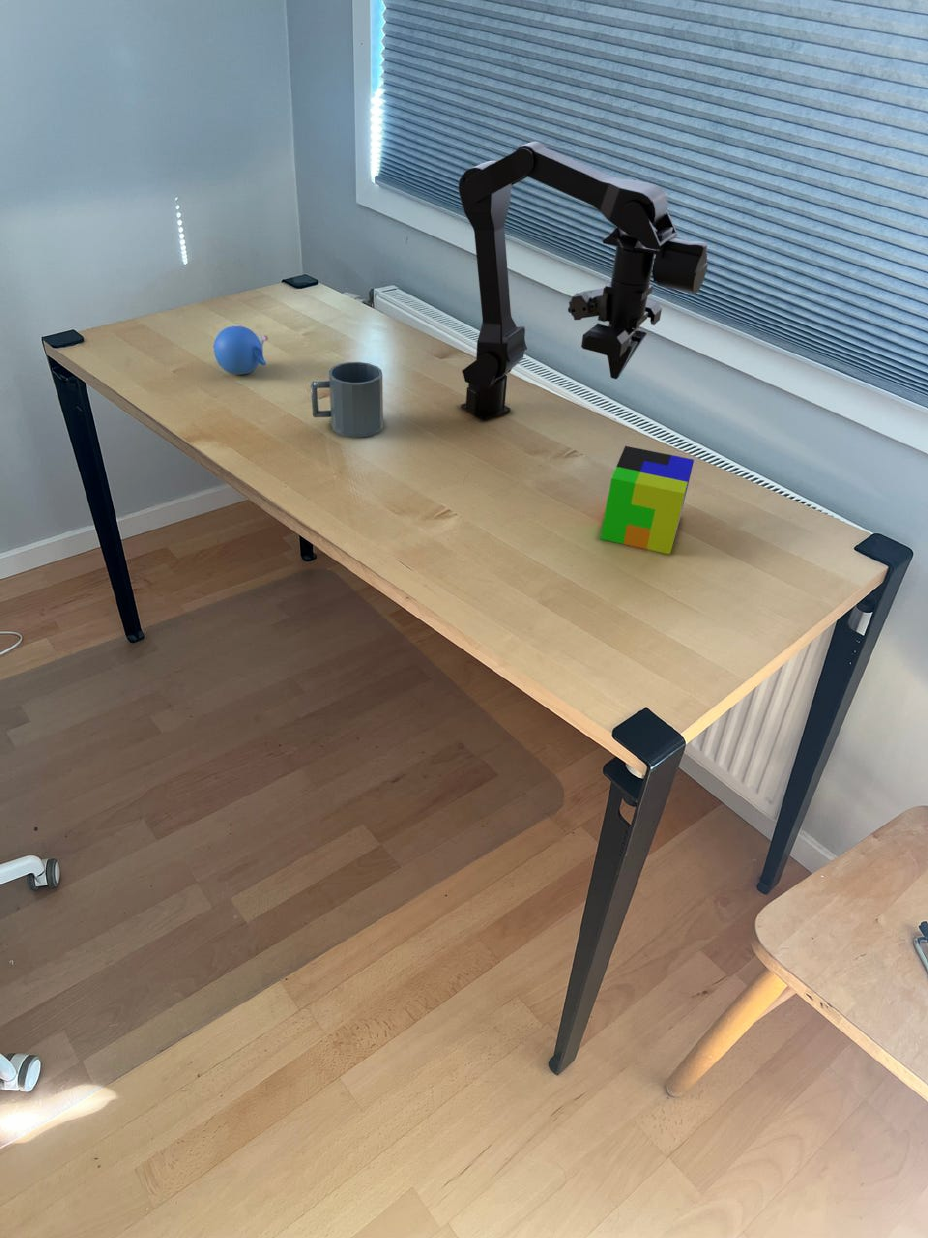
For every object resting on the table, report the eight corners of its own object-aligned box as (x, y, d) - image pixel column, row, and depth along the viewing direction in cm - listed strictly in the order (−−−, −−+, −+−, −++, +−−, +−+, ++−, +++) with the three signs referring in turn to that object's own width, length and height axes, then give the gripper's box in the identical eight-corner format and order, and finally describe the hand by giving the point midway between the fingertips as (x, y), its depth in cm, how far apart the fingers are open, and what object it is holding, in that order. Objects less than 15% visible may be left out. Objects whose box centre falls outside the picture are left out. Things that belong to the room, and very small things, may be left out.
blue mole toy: (293, 366, 167) (289, 323, 162) (249, 388, 159) (244, 343, 154) (245, 350, 172) (240, 307, 166) (200, 370, 164) (194, 326, 158)
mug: (379, 413, 154) (379, 360, 148) (385, 436, 148) (384, 383, 142) (312, 415, 152) (309, 362, 146) (314, 439, 146) (311, 385, 140)
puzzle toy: (680, 518, 133) (694, 459, 126) (669, 554, 125) (684, 493, 119) (614, 504, 135) (625, 445, 128) (600, 538, 127) (611, 478, 121)
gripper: (604, 252, 141) (590, 346, 151) (555, 284, 128) (544, 386, 138) (671, 266, 137) (652, 362, 147) (627, 301, 124) (610, 404, 134)
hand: (614, 377), depth 142 cm, fingers closed
